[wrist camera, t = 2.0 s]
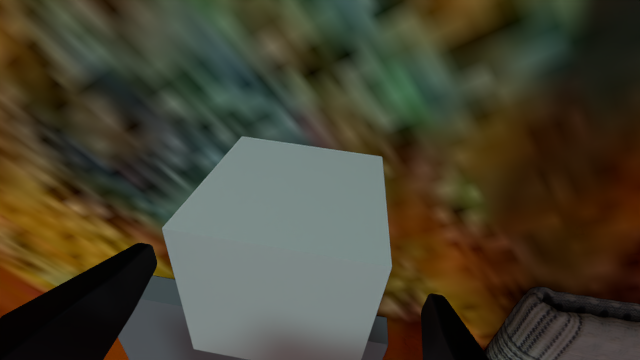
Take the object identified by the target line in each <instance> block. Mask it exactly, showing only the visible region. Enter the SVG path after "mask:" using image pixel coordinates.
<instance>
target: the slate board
mask: <svg viewBox="0 0 640 360" xmlns="http://www.w3.org/2000/svg"><path fill="white" fill-rule="evenodd" d="M118 338H119V340H120V342H121V344H122V346H123V348H124V350H125V352H126V354H127V356H128V358H129V360H247V359H242V358H237V357H232V356H227V355H222V354H217V353H211V352H206V351H201V350H196V349H194V348H193V345H192V341H191V337H190V333H189V329H188V326H187V322H186V318H185V314H184V310H183V307H182V303H181V299H180V295H179V291H178V288H177V284H176V280H174V279H168V278H163V277H157V276H152V277H151V279H150V281H149V283H148V285H147V287H146V289H145V291H144V293H143V295H142V297H141V299H140V301H139V303H138V305H137V306H136V308H135V310H134V312H133V313H132V315H131V317H130V318H129V320H128V322H127V323H126V325H125V326H124V328H123V329H122V331H121V333H120V334H119V336H118ZM387 346H388V333H387V318H385V317H379V316H376V317H375V320H374V323H373V326H372V329H371V332H370V335H369V338H368V341H367V344H366V347H365V350H364V353H363V356H362V359H361V360H382V359H383V356H384V354H385V351H386V349H387Z"/></svg>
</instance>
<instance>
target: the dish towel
mask: <svg viewBox="0 0 640 360" xmlns="http://www.w3.org/2000/svg"><path fill="white" fill-rule="evenodd" d="M485 354H486V355H487V356H488V358H489V359H490V360H640V304H637V303H629V302H620V301H615V300H609V299H599V298H594V297H591V296H583V295H574V294H571V293H566V292H556V291H553V290H551V289H550V288H546V287H535V288H532V289H530V290H529V291H528V292H527V293H526V294H525V295H524V296H523V297H522V299H521V300H520V301H519V303H518V304H517V305H516V306H515V307H514V309H513V311H512V312H511V314H510V315H509V316H508V317H507V318H506V321H505V323H504V324H503V326H502V327H501V328H500V330H499V331H498V333H497V335H496V336H495V337H494V339H493V340H492V341H491V342H490V344H489V346H488V348H487V349H486V351H485Z"/></svg>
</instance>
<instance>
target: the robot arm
mask: <svg viewBox="0 0 640 360" xmlns="http://www.w3.org/2000/svg"><path fill="white" fill-rule="evenodd" d="M156 266H157V259H156V256H155V253H154V249H153V247H152V246H151V245H150V244H145V243H137V244H135V245H133V246H131V247H129V248H127V249H126V250H124V251H122V252H120V253H118V254H116V255H114V256H113V257H111V258H109V259H107V260H105V261H103V262H101V263H100V264H98V265H96V266H94V267H92V268H90V269H88V270H87V271H85V272H83V273H81V274H79V275H77V276H75V277H74V278H72V279H70V280H68V281H66V282H64V283H63V284H61V285H59V286H57V287H55V288H53V289H51V290H50V291H48V292H46V293H44V294H42V295H40V296H38V297H37V298H35V299H33V300H31V301H29V302H27V303H25V304H24V305H22V306H20V307H18V308H16V309H14V310H12V311H11V312H9V313H7V314H5V315H3V316H2V317H1V318H0V360H103V359H104V358H105V356H106V354H107V353H108V351H109V350H110V348H111V347H112V345H113V343H114V342H115V340H116V339H117V337H118V336H119V334H120V333H121V331H122V329H123V328H124V326H125V325H126V323H127V322H128V320H129V318H130V317H131V315H132V313H133V312H134V310H135V308H136V306H137V305H138V303H139V301H140V299H141V297H142V295H143V293H144V291H145V289H146V287H147V285H148V283H149V281H150V279H151V277H152V275H153V273H154V271H155V269H156ZM421 326H422V348H423V360H490V359H489V358H488V356H487V355H486V354H485V352H484V351H483V349H482V348H481V347H480V345H479V344H478V342H477V341H476V340H475V338H474V337H473V335H472V334H471V333H470V331H469V330H468V329H467V327H466V326H465V324H464V323H463V322H462V320H461V319H460V317H459V316H458V315H457V313H456V312H455V310H454V309H453V308H452V306H451V305H450V304H449V302H448V301H447V299H446V298H445V297H444V296H442V295H438V294H432V293H431V294H429V295H428V297H427V299H426V301H425V304H424V306H423V308H422V311H421Z"/></svg>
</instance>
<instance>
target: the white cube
mask: <svg viewBox="0 0 640 360" xmlns="http://www.w3.org/2000/svg"><path fill="white" fill-rule="evenodd" d="M162 231H163V234H164V238H165V242H166V246H167V250H168V253H169V257H170V261H171V265H172V269H173V272H174V276H175V280H176V284H177V288H178V291H179V295H180V299H181V303H182V307H183V310H184V314H185V318H186V322H187V326H188V329H189V333H190V337H191V341H192V345H193V348H194V349H196V350H201V351H206V352H211V353H217V354H222V355H227V356H232V357H237V358H242V359H247V360H361V359H362V356H363V353H364V350H365V347H366V344H367V341H368V338H369V335H370V332H371V329H372V326H373V323H374V320H375V317H376V314H377V311H378V308H379V305H380V302H381V299H382V296H383V293H384V289H385V286H386V283H387V280H388V277H389V274H390V271H391V268H392V262H391V251H390V240H389V229H388V217H387V206H386V195H385V183H384V172H383V161H382V157H380V156H373V155H366V154H360V153H353V152H346V151H339V150H332V149H325V148H318V147H312V146H305V145H298V144H291V143H284V142H277V141H270V140H264V139H257V138H250V137H243V136H242V137H241V138H240V139H239V140H238V142H237V143H236V144H235V145H234V146H233V147H232V148H231V150H230V151H229V152H228V153H227V154H226V155H225V157H224V158H223V159H222V160H221V161H220V162H219V163H218V165H217V166H216V167H215V168H214V169H213V170H212V171H211V173H210V174H209V175H208V176H207V177H206V178H205V179H204V181H203V182H202V183H201V184H200V185H199V186H198V188H197V189H196V190H195V191H194V192H193V193H192V194H191V196H190V197H189V198H188V199H187V200H186V201H185V202H184V204H183V205H182V206H181V207H180V208H179V209H178V210H177V212H176V213H175V214H174V215H173V216H172V217H171V219H170V220H169V221H168V222H167V223H166V224H165V225H164V227H163V228H162Z"/></svg>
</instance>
